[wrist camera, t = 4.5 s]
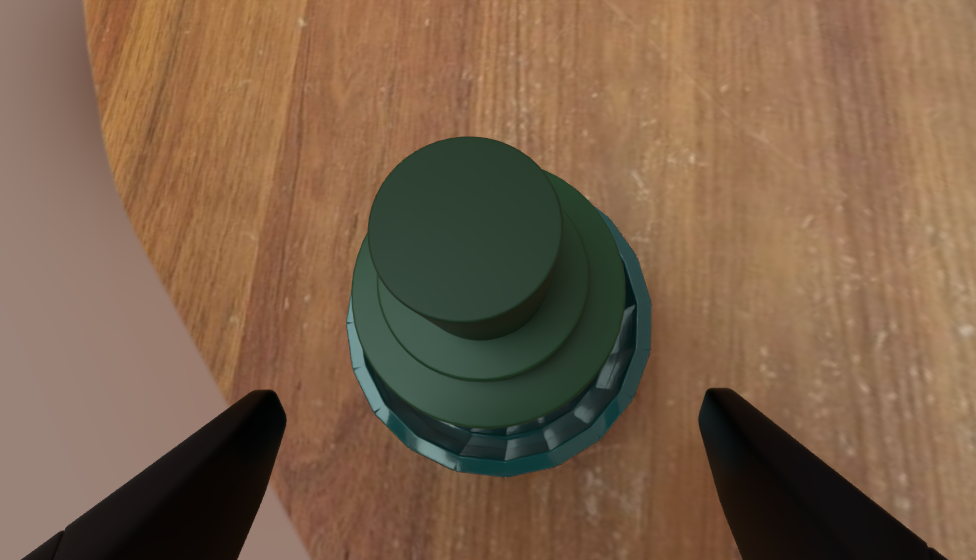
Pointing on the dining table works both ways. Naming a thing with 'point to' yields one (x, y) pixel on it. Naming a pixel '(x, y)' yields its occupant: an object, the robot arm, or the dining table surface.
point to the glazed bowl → (544, 436)
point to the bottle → (485, 286)
